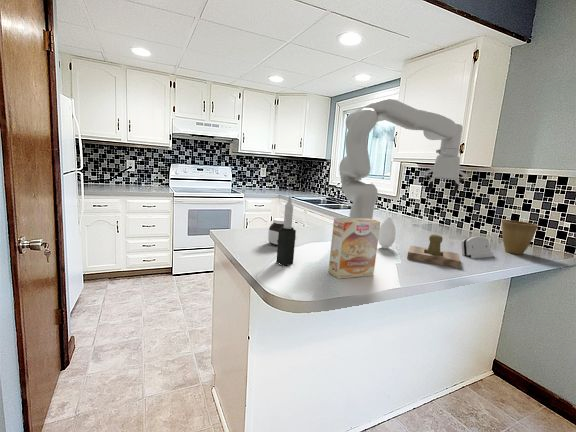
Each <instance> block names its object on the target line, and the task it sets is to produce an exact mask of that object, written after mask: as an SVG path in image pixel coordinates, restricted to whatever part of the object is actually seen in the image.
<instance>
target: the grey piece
mask: <svg viewBox="0 0 576 432" xmlns="http://www.w3.org/2000/svg"><path fill="white" fill-rule="evenodd" d="M461 255H462V256H470V258H471V259H478V258H491V257H493V258H494V257H495V254H494V252H493V251H492V250H491V246H490V242H489V239H488V238H486V237H483V236H470V237H467V238H465V239H463V240H462V241H461Z"/></svg>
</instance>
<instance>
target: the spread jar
mask: <svg viewBox="0 0 576 432" xmlns="http://www.w3.org/2000/svg"><path fill="white" fill-rule="evenodd" d="M272 219H273V220H272V223H271V224H270V225H269V228H268V233H267V234H268V237H267V240H268V243H269V244H270V245H271V246H273V247H276V246H278V234H279V229H281V227H284V217H283V218H282V217H277V218H275V217H274V218H272ZM296 240H297V235H295V241H296Z"/></svg>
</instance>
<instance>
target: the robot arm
mask: <svg viewBox="0 0 576 432" xmlns="http://www.w3.org/2000/svg"><path fill="white" fill-rule="evenodd" d="M383 121H386V122H389V123H392V124H393V125H396V126H399V127H401V128H403V129H405V130H410V131H423V136H424V137H425V138H426V139H428V140H429V141H437V140H438V141H439V140H440V147H439V149H436V150H435V153H436V154H438V155H437V156H436V158H435V161H434V166H433V168H431V169H428V170H424V174H425V177H426V179H427V180H428V181H429V185H428V189H429V191H431V192H432V191H433V187H434V180H435V179H445V180H454V182H455V184H454V189H453V193H454V194H456V192H458V191H459V187H460V186H459V185H460V184H461V183H463V182H464V181H465V180H466V179H467V177H468V176H469V175H468V174H467V173H466V172H464V171H462V170H461V169H460V168H461V167H460V166H461V157H460V156H459V154H460V153H459V152H460V146H461V139H462V134H463V128H464V127H463V125H462V124H460V123H456V122H455V121H454V120H452V119H451V118H449V117H446V116H445V115H443V114H439V113H436V112H435V113H434V112H432V111H431V112H430V111H426V110H422V109H417V108H415V107H413V106H411V105H408V104H406V103H404V102H402V101H399V100H397V99H395V98H392V97H385V98H382V99H379V100H375V101H373V102H371V103H370V104H367V105H366V106H363V107H361V108H360V109H359V108H358V109H357V110H354V111H352V112H351V113H349V114H348V115H347V117H346V119H345V127H346V130H347V133H346V135H345V142H344V143H345V144H344V145H345V154H346V156H344V157H343V158H342V159H340V162H339V163H340V164H339V166H338V167H339V169H338V171H339V176H340V182H341V187H342V192H343V195H344V196H345V198H346V199H347V200H349V201H351V202H352V205H351V207H350V212H349V215H348V217H349V218H369V219H373V216H374V211H375V206H376V202H377V200H378V189H377V187H376V185H375V184H374V183H372V182H370V181H368V180H367V181H366V180H362V179H364V178H365V179H366V178H367V177H368V176H369V175H370V173H371V169H372V168H371V162H370V161H371V160H370V154H369V149H368V139H369V135H370V133H371V131H372V130H373V129H374V128H375V126H376V125H377V123H378V122H383ZM429 173H432V177H431V176H430V175H429ZM459 175H461V176H462V177H461V179H458V177H459Z"/></svg>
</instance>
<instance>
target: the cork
mask: <svg viewBox="0 0 576 432" xmlns="http://www.w3.org/2000/svg"><path fill="white" fill-rule="evenodd" d="M428 241H429V244H428V247H427V248H428V250H427V254H433V255H438V256H440V250H441V243H442V242H443V237H442V235H439V234H435V233H434V234H430V236H429V240H428Z"/></svg>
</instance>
